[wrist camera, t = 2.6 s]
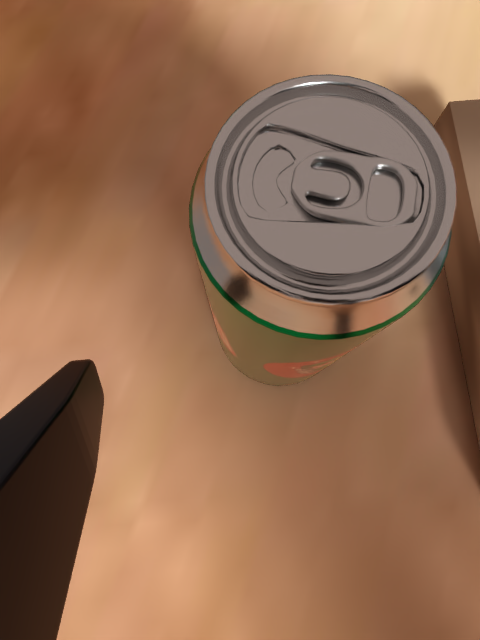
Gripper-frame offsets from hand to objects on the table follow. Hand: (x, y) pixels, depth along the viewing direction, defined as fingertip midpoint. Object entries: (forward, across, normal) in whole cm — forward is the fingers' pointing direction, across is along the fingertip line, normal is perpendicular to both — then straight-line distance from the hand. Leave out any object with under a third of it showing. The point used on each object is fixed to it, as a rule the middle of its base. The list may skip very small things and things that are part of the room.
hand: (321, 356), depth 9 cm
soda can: (+9, 0, +5) cm, 11 cm away
